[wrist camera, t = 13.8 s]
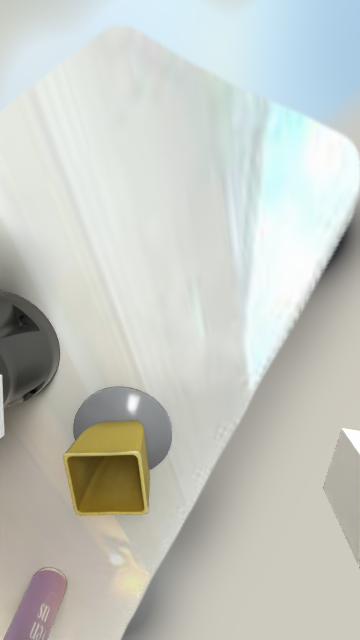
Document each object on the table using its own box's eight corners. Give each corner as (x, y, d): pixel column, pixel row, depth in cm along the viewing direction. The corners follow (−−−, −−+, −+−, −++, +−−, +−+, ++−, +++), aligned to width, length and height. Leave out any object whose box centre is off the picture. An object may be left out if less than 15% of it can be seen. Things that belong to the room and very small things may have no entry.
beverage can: (27, 574, 54) (-35, 700, 39) (52, 560, 53) (-3, 685, 38) (50, 595, 55) (-2, 725, 41) (75, 582, 54) (30, 711, 39)
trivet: (78, 467, 47) (76, 471, 46) (72, 383, 43) (70, 386, 42) (170, 474, 46) (170, 478, 45) (173, 390, 42) (173, 393, 41)
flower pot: (152, 407, 42) (140, 452, 34) (158, 460, 45) (148, 515, 36) (89, 409, 43) (61, 454, 34) (98, 461, 45) (74, 516, 37)
